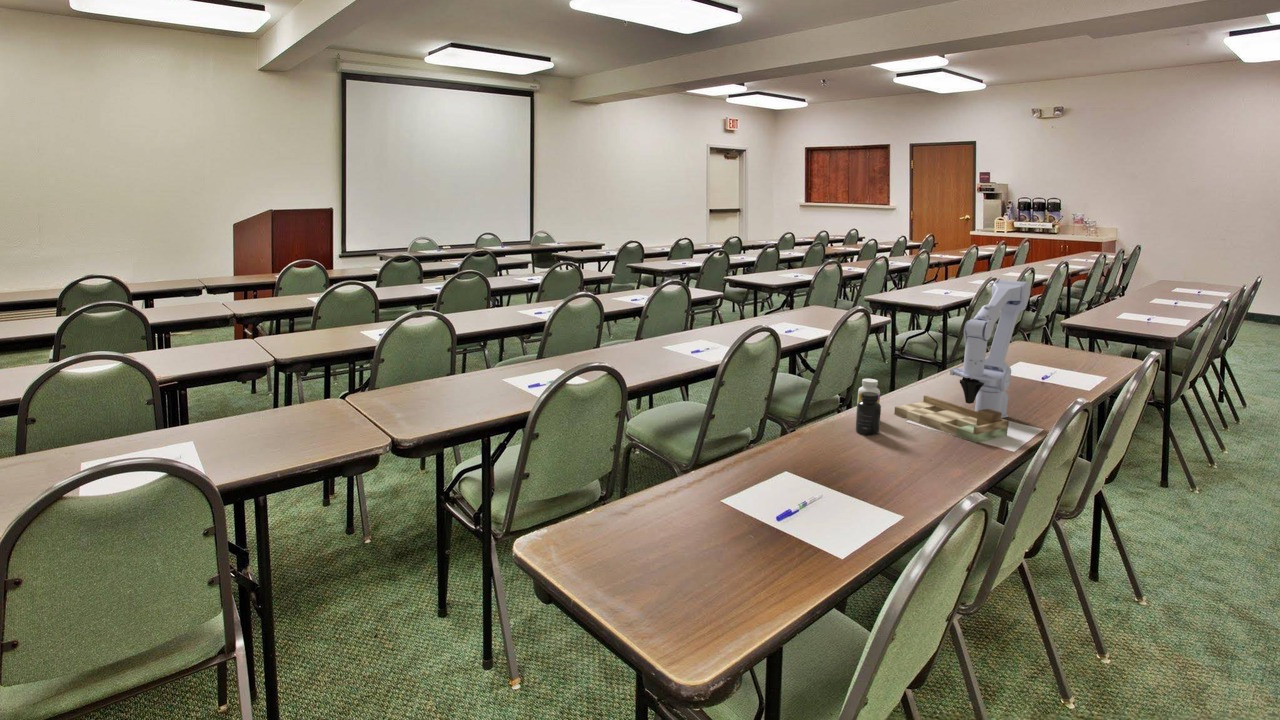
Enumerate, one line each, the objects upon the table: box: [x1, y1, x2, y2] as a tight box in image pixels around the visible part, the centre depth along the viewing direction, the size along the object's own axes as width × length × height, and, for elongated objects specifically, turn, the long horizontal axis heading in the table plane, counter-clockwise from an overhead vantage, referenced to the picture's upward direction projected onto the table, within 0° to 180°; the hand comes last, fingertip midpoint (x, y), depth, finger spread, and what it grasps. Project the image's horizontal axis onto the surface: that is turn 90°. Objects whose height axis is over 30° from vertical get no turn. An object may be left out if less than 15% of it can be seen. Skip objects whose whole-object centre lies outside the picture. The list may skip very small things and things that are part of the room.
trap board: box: [893, 395, 1010, 444], centre depth 219 cm, size 14×30×4 cm, turn 28°
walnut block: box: [976, 409, 1002, 426], centre depth 210 cm, size 4×4×4 cm
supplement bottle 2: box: [855, 392, 882, 436], centre depth 211 cm, size 7×7×12 cm
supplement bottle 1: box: [856, 378, 881, 414], centre depth 222 cm, size 7×7×13 cm
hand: (969, 402), depth 216 cm, fingers closed
